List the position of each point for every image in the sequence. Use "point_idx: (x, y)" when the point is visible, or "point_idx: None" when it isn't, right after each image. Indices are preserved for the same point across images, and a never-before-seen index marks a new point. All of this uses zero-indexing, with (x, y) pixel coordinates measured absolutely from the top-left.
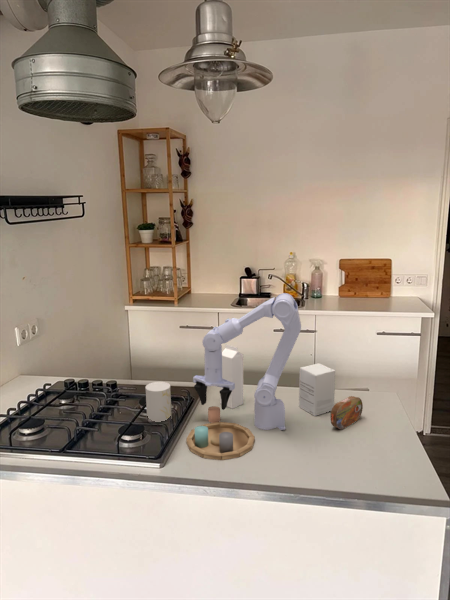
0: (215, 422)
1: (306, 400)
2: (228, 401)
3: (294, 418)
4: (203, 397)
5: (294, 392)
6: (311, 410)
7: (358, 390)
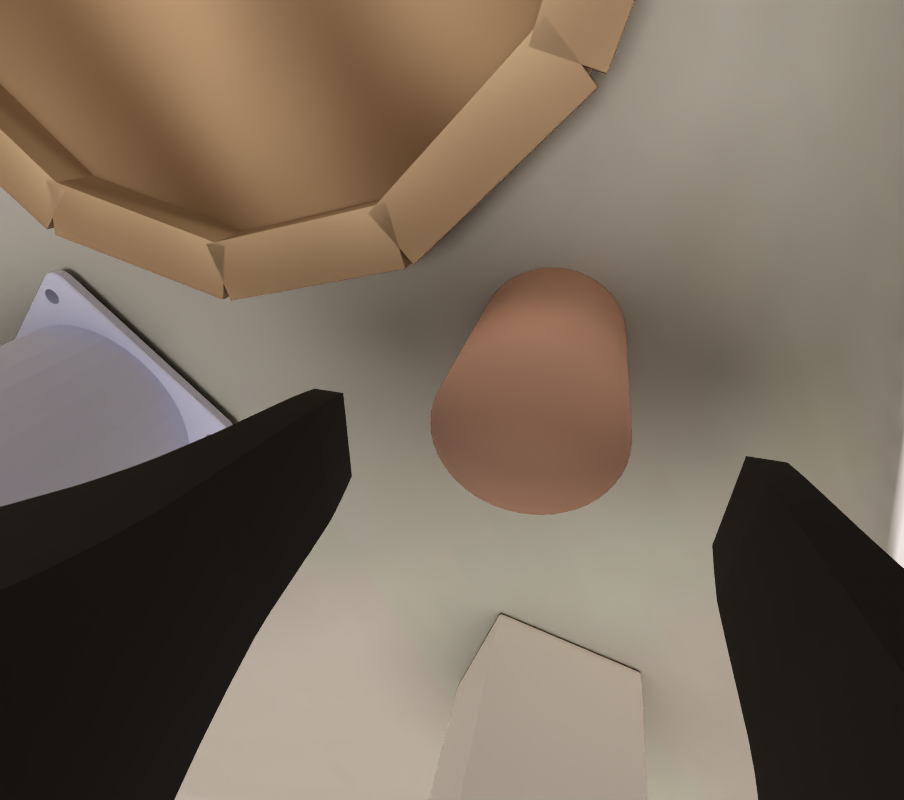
0: (450, 224)
1: None
2: (536, 685)
3: None
4: (785, 608)
5: (266, 786)
6: None
7: None
